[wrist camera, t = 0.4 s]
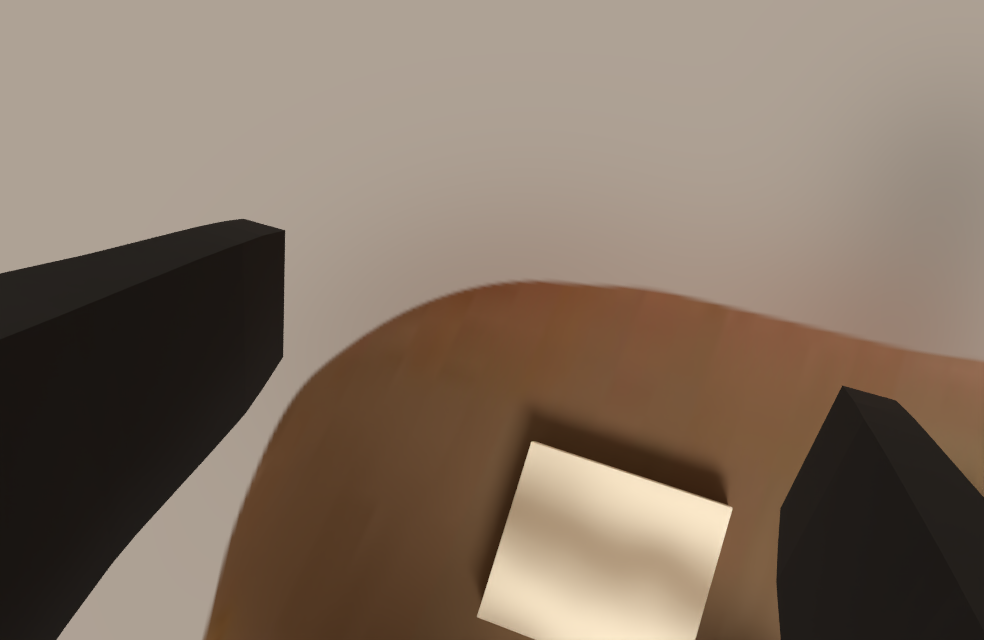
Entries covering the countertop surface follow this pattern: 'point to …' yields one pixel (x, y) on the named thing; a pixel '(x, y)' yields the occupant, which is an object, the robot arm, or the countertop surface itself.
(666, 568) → the cream block
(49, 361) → the robot arm
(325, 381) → the countertop surface
